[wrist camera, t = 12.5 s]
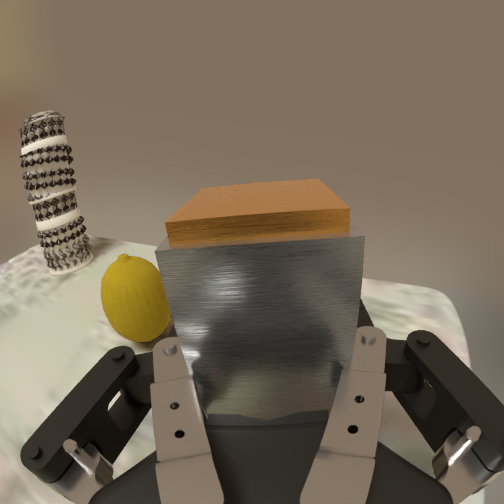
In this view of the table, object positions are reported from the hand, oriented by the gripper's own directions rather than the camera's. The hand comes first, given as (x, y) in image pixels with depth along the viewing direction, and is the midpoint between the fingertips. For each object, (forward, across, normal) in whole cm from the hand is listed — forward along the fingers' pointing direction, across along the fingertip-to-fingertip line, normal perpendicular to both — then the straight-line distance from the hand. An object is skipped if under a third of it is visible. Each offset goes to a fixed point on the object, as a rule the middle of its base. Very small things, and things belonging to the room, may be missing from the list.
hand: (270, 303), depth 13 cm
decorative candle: (+24, +33, +8) cm, 41 cm away
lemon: (+6, +11, +8) cm, 15 cm away
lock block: (-3, 0, +7) cm, 7 cm away
